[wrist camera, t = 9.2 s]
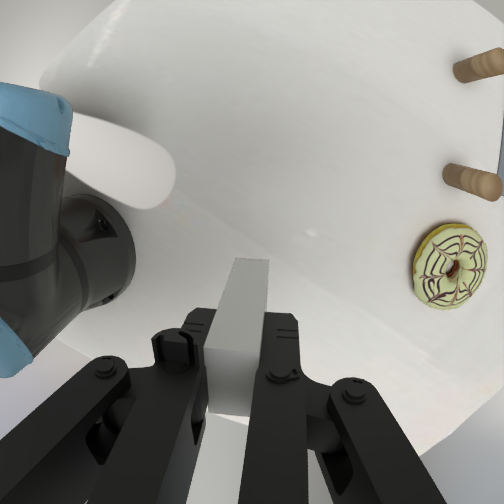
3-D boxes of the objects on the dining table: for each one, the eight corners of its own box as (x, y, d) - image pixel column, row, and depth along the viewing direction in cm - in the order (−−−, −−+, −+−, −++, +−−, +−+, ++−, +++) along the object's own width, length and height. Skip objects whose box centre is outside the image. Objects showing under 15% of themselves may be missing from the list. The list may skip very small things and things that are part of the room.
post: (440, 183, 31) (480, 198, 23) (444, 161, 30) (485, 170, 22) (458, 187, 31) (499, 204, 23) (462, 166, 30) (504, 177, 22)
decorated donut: (403, 303, 37) (412, 318, 34) (410, 221, 34) (421, 230, 30) (470, 296, 36) (482, 310, 32) (481, 219, 32) (496, 227, 29)
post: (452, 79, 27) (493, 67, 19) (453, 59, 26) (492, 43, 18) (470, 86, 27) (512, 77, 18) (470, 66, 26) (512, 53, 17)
